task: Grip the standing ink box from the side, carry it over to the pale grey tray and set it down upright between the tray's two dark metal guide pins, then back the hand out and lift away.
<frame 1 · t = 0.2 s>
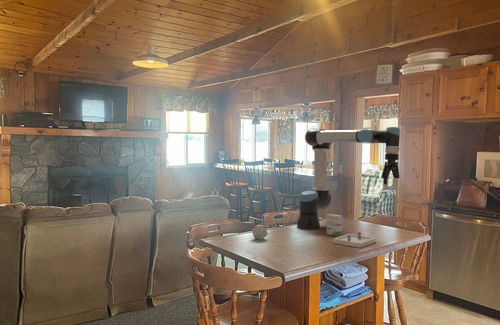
hand: (390, 189, 224), 27 cm above the table, tool pointing down, fingers open, 13 cm apart
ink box: (334, 235, 226), on the table
die: (259, 239, 213), on the table
pin tray: (354, 242, 206), on the table
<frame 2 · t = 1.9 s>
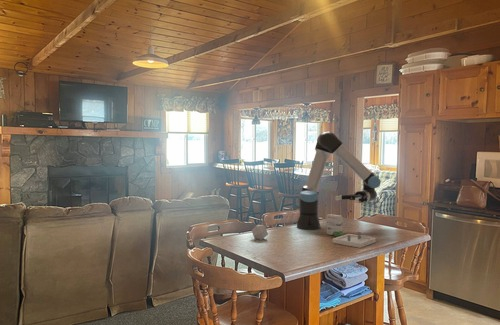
hand: (345, 199, 234), 20 cm above the table, tool horizontal, fingers open, 13 cm apart
nothing on the table moved.
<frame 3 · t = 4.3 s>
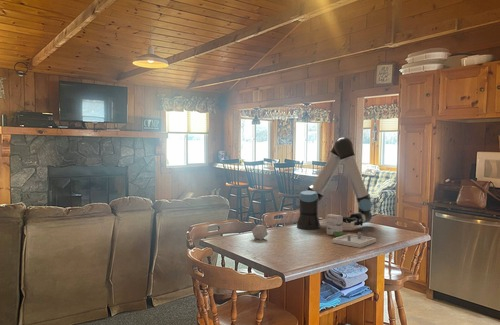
hand: (340, 223, 229), 6 cm above the table, tool horizontal, fingers open, 13 cm apart
nothing on the table moved.
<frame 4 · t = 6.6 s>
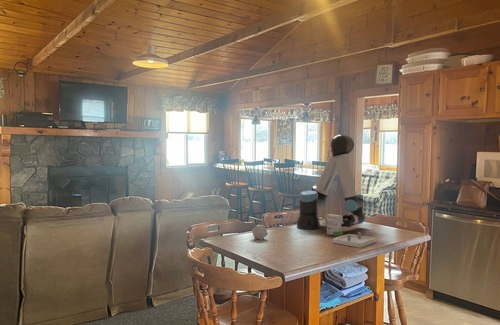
hand: (330, 224, 222), 7 cm above the table, tool horizontal, fingers closed on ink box, 9 cm apart
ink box: (334, 235, 226), on the table, touching gripper
everything else where it was.
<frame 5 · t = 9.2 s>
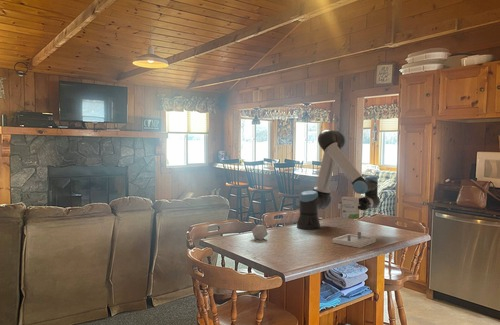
hand: (346, 207, 210), 19 cm above the table, tool horizontal, fingers closed on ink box, 9 cm apart
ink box: (350, 218, 213), point 12 cm above the table, touching gripper
everything else where it was.
when the fingers open (9 cm above the table, at t = 12.3 s): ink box drops 1 cm, resting on pin tray.
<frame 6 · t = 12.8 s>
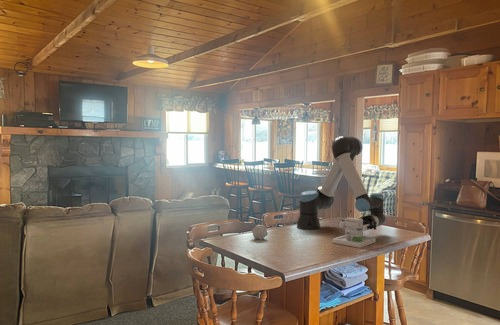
hand: (351, 226, 203), 9 cm above the table, tool horizontal, fingers open, 13 cm apart
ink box: (353, 240, 206), point 1 cm above the table, touching pin tray
everything else where it was.
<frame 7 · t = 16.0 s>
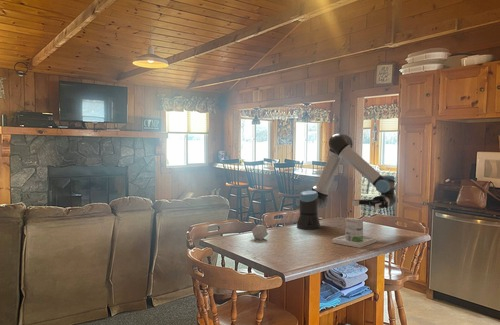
hand: (364, 205, 212), 19 cm above the table, tool horizontal, fingers open, 13 cm apart
nothing on the table moved.
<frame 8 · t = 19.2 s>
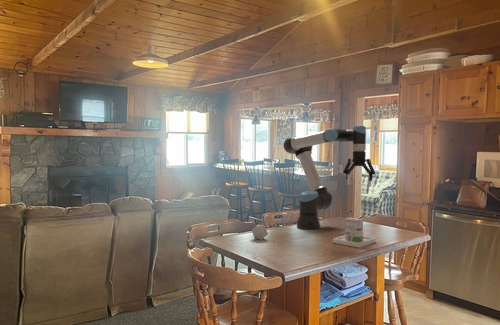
hand: (358, 185, 234), 29 cm above the table, tool pointing down, fingers open, 13 cm apart
nothing on the table moved.
at the end: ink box 0.2 cm off-centre on the pin tray, point 1.0 cm above the pin tray's base; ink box tilted 0°; the gripper is holding nothing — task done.
